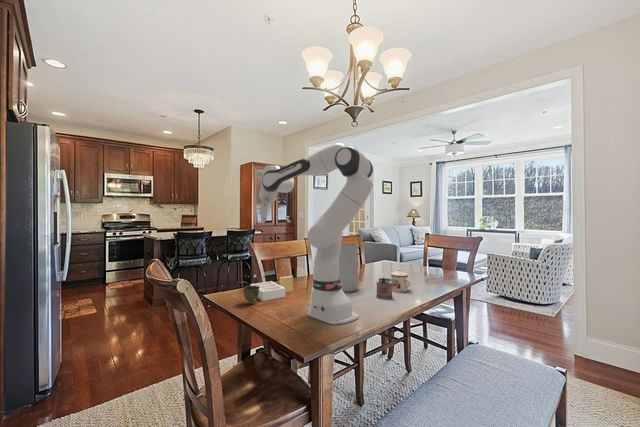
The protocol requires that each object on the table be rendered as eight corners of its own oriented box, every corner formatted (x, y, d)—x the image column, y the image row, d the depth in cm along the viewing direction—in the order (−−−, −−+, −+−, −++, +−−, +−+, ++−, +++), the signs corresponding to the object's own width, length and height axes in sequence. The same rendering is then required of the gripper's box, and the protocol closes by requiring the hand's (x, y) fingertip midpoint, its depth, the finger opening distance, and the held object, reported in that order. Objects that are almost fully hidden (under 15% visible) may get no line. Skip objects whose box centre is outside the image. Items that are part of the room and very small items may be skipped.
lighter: (375, 297, 146) (375, 277, 146) (377, 295, 149) (377, 276, 149) (392, 299, 143) (391, 279, 143) (392, 297, 146) (392, 277, 146)
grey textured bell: (255, 306, 133) (255, 289, 133) (240, 305, 134) (240, 288, 134) (261, 301, 140) (261, 285, 140) (247, 300, 142) (247, 284, 142)
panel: (293, 291, 158) (293, 276, 158) (281, 293, 155) (281, 278, 155) (291, 290, 161) (291, 275, 160) (279, 292, 157) (279, 277, 157)
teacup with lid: (387, 289, 161) (387, 268, 161) (398, 287, 166) (398, 266, 166) (404, 294, 151) (404, 272, 151) (415, 292, 156) (415, 270, 156)
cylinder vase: (346, 285, 171) (346, 243, 171) (362, 289, 162) (362, 244, 162) (331, 288, 163) (331, 244, 163) (347, 293, 154) (347, 246, 153)
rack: (285, 297, 148) (285, 288, 147) (261, 301, 141) (261, 292, 141) (271, 289, 163) (271, 281, 162) (249, 292, 156) (249, 284, 156)
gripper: (272, 198, 139) (267, 225, 141) (275, 196, 160) (271, 220, 161) (258, 195, 139) (254, 223, 140) (263, 194, 159) (259, 218, 160)
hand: (263, 222), depth 151 cm, fingers open, 8 cm apart
